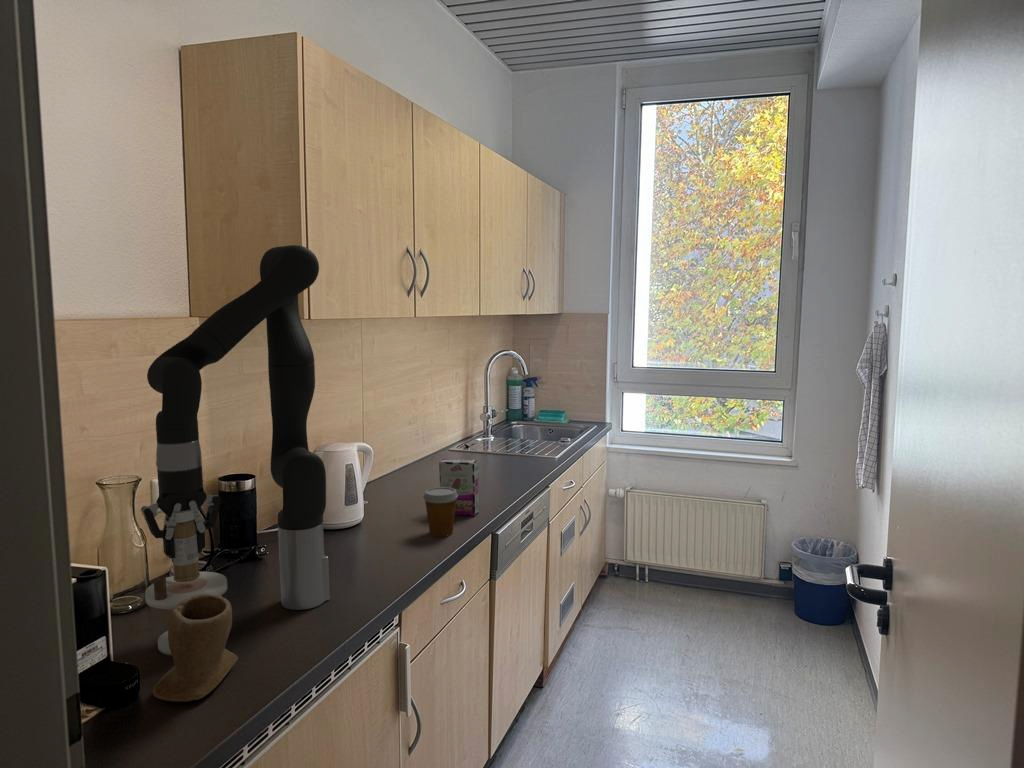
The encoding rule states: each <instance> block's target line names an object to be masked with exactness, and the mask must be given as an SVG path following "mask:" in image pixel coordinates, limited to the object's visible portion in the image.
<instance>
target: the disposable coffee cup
mask: <svg viewBox="0 0 1024 768" xmlns="http://www.w3.org/2000/svg"><path fill="white" fill-rule="evenodd" d="M457 497H458V494H457V492H456V490H455V489H453V488H447V487H440V486H439V487H432V488H428V489H426V490H425V491H424V493H423V499H424V501H425V508H426V515H427V523H428V528H429V534H431V535H430V536H432V535H434V536H433V537H435V536H445V537H448V536H447V535H449V536H451V535H453V531H454V522H455V516H456V515H455V507H456V499H457Z"/></svg>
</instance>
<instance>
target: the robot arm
mask: <svg viewBox="0 0 1024 768" xmlns="http://www.w3.org/2000/svg"><path fill="white" fill-rule="evenodd" d="M319 272H320V263H319V260H318V258H317V256H316V254H315V253H314V252H313V251H312V250H311V249H310V248H308V247H306V246H303V245H298V244H297V245H296V244H295V245H293V244H291V245H281V246H274V247H272V248H270V249H268V250H266V252H265V253H264V254H263V255H262V257H261V260H260V263H259V276H260V280H259V282H258V283H256V284H255V285H254V286H252V287H251V288H250V289H248V290H247V291H246V292H244V293H242V294H241V295H239V296H238V297H236V298H235V299H233V300H231V301H229V302H228V303H226V304H224V305H223V306H222V307H220V308H218V309H217V310H216V311H215V312H213V313H212V314H211V315H210V316H209V317H207V318H206V319H205V320H204V321H203V322H202V323H200V325H199V326H198V327H197V328H195V329H194V330H193V331H192V333H190V334H189V335H188V336H187V337H185V338H183V339H182V340H180V341H179V342H177V343H176V344H174V345H173V346H171V347H170V348H168V349H167V350H165V351H164V352H163V353H161V354H159V356H157V357H156V358H155V359H154V360H153V362H151V364H150V365H149V367H148V368H147V369H148V370H147V372H146V373H147V374H146V378H147V379H146V380H147V382H148V384H149V386H150V388H152V390H154V391H156V392H157V393H158V394H159V393H160V394H161V395H162V399H161V400H162V401H161V410H160V411H158V413H157V414H156V415H155V433H156V453H155V454H156V456H155V457H156V461H155V465H156V471H157V487H158V497H157V499H156V501H155V503H153V504H151V505H149V506H147V505H145V506H142V507H141V509H140V511H141V514H142V516H143V518H144V521H145V522H146V525H147V527H148V529H149V531H150V534H151V536H153V537H154V538H155V539H162V546H163V553H164V554H165V556H166V557H168V558H169V559H171V560H172V559H173V558H175V553H174V539H173V538H172V536H173V532H174V528H175V527H176V524H177V522H176V516H175V515H176V514H177V513H180V511H185V510H189V509H190V510H191V511H193V513H194V520H195V525H196V534H197V544H198V554H200V553H202V552H203V549H205V548H206V531H207V530H208V529H210V528H214V527H215V526H216V522H217V520H218V519H217V518H218V515H219V511H220V508H221V503H222V497H221V496H220V495H219V494H216V493H213V494H207V493H206V492H205V490H204V478H203V477H204V475H203V460H202V459H203V457H202V449H201V445H200V437H199V436H200V434H199V422H198V421H199V420H198V414H199V409H200V404H201V396H202V388H203V387H202V386H203V384H202V383H203V382H202V375H201V370H202V369H204V368H205V367H206V366H209V365H213V364H216V363H217V362H219V361H221V360H222V359H223V358H224V357H225V356H226V355H228V353H229V352H231V351H232V349H234V348H235V347H236V346H237V345H238V344H239V343H240V342H241V341H242V340H243V339H244V338H245V337H246V336H247V335H248V334H250V332H251V331H253V330H254V329H255V328H256V327H257V326H258V325H259V324H261V323H262V322H263V321H264V320H265V319H266V321H265V322H266V341H267V360H268V361H267V367H268V384H269V397H270V399H269V400H270V413H271V421H272V422H271V424H272V431H271V432H272V434H271V436H272V437H271V453H270V454H271V455H270V473H271V478H272V479H273V481H274V483H275V484H276V485H277V486H279V487H280V488H281V489H282V508H281V510H280V511H279V512H278V513H277V536H278V554H279V555H278V557H279V579H280V580H279V581H280V584H279V585H280V599H281V600H280V601H281V602H280V603H281V606H282V607H283V608H284V609H288V610H295V611H300V610H308V609H312V608H317V607H318V606H321V605H322V604H323V603H324V602H326V601H329V600H330V599H331V597H330V571H329V557H328V556H327V555H326V554H325V539H324V513H325V510H326V507H327V475H326V474H327V473H326V467H325V464H324V461H323V460H322V458H321V457H320V456H319V455H318V454H316V453H314V452H312V451H310V449H309V448H310V447H309V443H308V431H307V427H308V426H307V423H308V422H307V421H308V415H309V412H310V408H311V404H312V401H313V398H314V394H315V389H316V388H315V387H316V369H315V366H316V365H315V355H314V351H313V347H312V345H311V342H310V340H309V337H308V335H307V333H306V330H305V328H304V325H303V323H302V320H301V317H300V315H301V314H300V308H299V294H301V293H302V292H304V291H306V290H307V289H308V288H310V287H311V286H312V285H313V284H315V282H316V280H317V278H318V276H319ZM205 501H206V505H207V506H208V507H207V511H206V515H205V519H204V520H203V517H202V515H201V512H200V509H201V508H202V507H203V505H204V503H205ZM159 509H160V510H161V512H162V513H163V514H165V516H164V520H163V527H162V529H160V527H159V524H158V522H157V520H156V517H157V516H158V510H159ZM169 518H170V520H169ZM173 520H174V521H173Z"/></svg>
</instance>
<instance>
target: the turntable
mask: <svg viewBox="0 0 1024 768" xmlns="http://www.w3.org/2000/svg"><path fill="white" fill-rule="evenodd" d="M199 573H200V576H199V577H198V578H197V579H195V580H193V581H188V582H177V581H175V580H174V575H171V576H168V577H157V578H155V579H153V583H151V584H150V585H149V586H148V587H146V589H145V592H144V594H145V595H144V597H145V603H146V604H147V605H148V607H151V608H154V609H160V610H173V609H174V608H175V607H176V606H177V604H178V603H179V602H181V601H182V600H184V599H186V598H188V597H190V596H194V595H199V594H215V595H219V596H222V597H223V595H224V594H225V593H226V592H227V590H228V579H227V577H226V576H225V575H224V574H221V573H218V572H215V571H199Z"/></svg>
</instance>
